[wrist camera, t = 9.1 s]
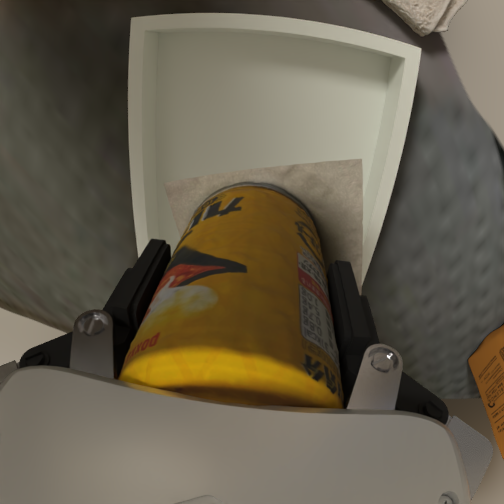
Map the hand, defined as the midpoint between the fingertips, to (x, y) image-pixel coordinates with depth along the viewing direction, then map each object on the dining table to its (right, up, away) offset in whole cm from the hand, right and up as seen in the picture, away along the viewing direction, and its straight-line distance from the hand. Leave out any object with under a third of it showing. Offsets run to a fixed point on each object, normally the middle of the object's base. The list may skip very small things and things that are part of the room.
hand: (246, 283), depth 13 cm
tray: (+1, +7, +11) cm, 14 cm away
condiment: (+1, +2, +3) cm, 3 cm away
